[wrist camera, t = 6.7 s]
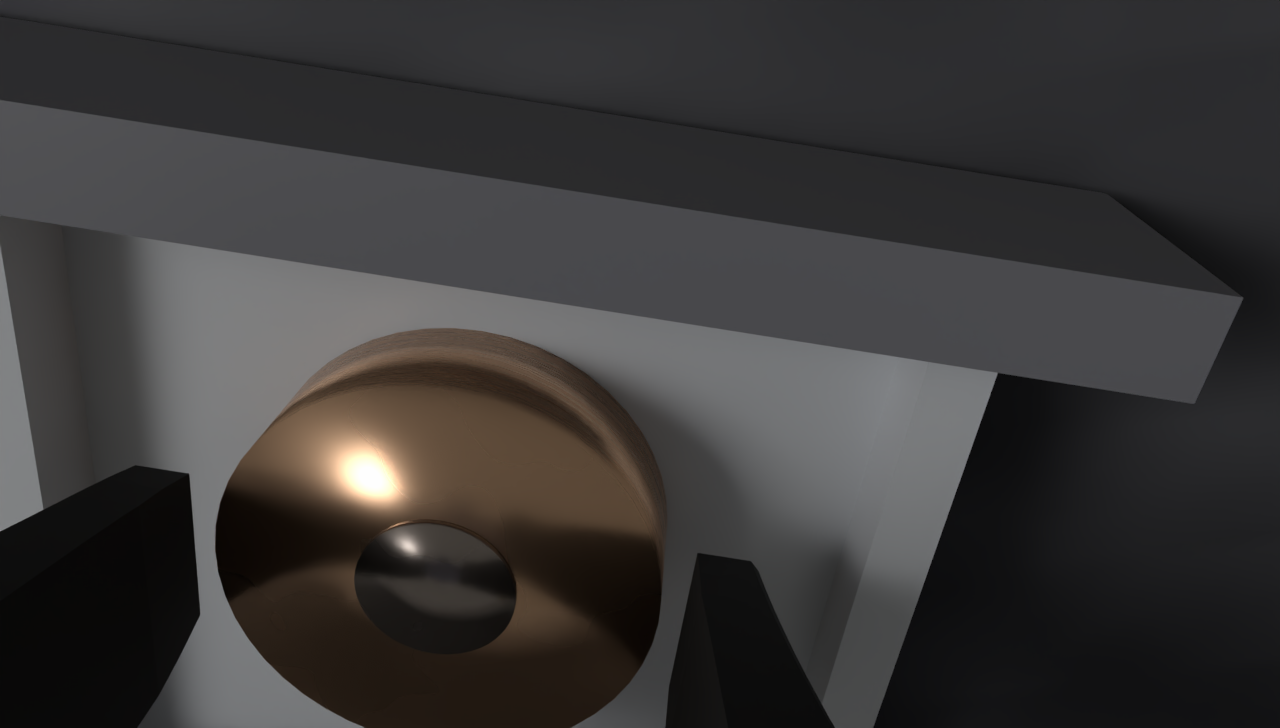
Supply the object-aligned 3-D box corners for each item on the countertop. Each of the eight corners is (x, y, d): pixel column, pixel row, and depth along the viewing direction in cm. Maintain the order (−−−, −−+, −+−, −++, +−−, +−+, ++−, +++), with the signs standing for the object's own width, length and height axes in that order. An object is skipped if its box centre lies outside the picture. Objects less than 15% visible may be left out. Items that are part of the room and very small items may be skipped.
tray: (827, 937, 16) (851, 1143, 14) (59, 821, 16) (-68, 1005, 14) (1106, 193, 11) (1244, 297, 8) (-95, 1, 10) (-376, 40, 8)
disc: (635, 682, 13) (626, 784, 12) (277, 623, 13) (221, 717, 12) (700, 361, 11) (697, 436, 10) (269, 289, 11) (197, 353, 9)
